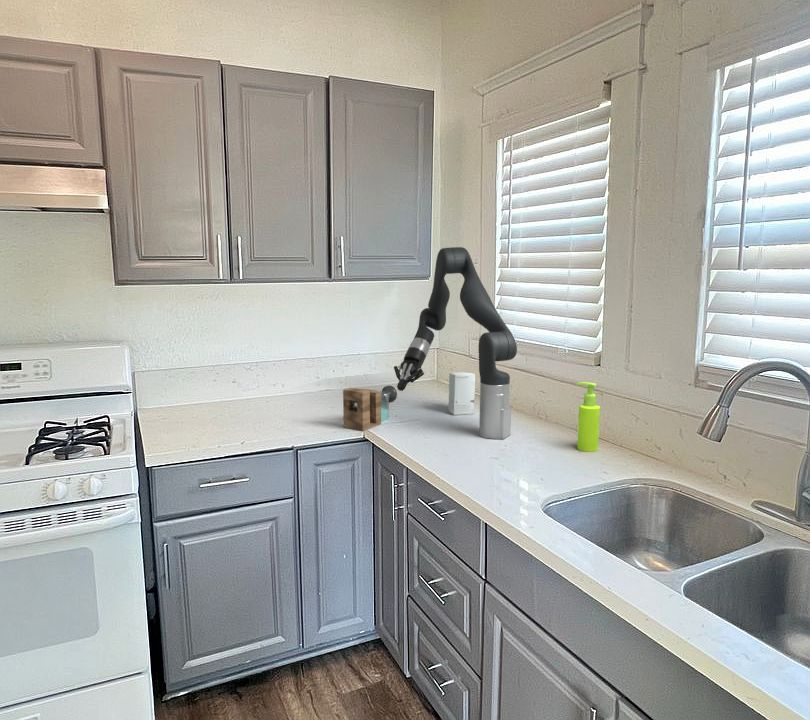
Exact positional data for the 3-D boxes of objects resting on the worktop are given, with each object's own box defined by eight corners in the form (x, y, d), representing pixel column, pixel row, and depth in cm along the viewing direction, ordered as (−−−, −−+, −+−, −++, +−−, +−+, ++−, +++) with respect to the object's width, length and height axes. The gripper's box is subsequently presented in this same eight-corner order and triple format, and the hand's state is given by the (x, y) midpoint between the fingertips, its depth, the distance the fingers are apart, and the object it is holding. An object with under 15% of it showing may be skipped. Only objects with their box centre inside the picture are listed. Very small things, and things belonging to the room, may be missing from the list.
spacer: (388, 420, 214) (388, 409, 213) (378, 423, 209) (378, 412, 208) (376, 418, 217) (376, 407, 216) (366, 421, 212) (366, 410, 211)
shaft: (397, 414, 218) (397, 386, 216) (362, 427, 201) (362, 397, 199) (383, 412, 221) (383, 384, 220) (348, 425, 204) (347, 395, 202)
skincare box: (453, 415, 219) (454, 375, 217) (447, 411, 225) (448, 372, 222) (475, 413, 222) (475, 373, 219) (468, 410, 227) (469, 371, 225)
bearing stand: (381, 424, 208) (380, 386, 206) (362, 431, 199) (362, 392, 197) (362, 420, 212) (362, 384, 210) (343, 427, 204) (343, 389, 202)
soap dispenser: (578, 444, 186) (581, 379, 182) (600, 448, 181) (604, 382, 178) (570, 448, 181) (573, 383, 178) (593, 453, 177) (596, 386, 173)
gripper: (398, 345, 233) (381, 381, 225) (428, 347, 226) (411, 386, 218) (406, 356, 239) (389, 393, 230) (435, 359, 232) (418, 397, 224)
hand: (399, 389), depth 224 cm, fingers closed
